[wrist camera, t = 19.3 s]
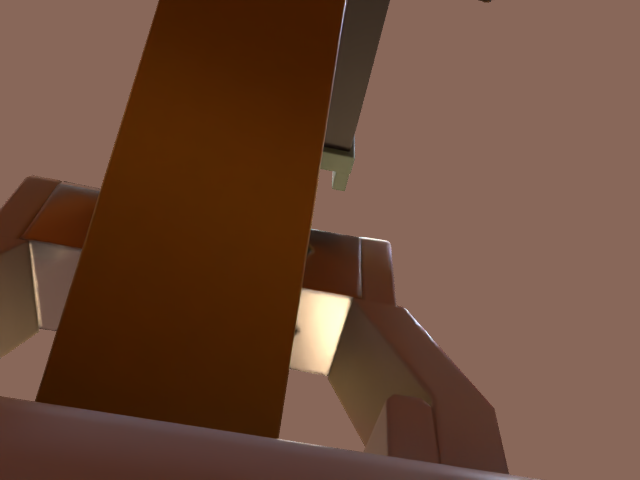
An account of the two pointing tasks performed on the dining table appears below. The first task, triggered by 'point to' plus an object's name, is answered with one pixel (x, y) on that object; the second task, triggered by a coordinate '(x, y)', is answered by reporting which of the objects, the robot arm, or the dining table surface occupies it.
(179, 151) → the batten
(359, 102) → the stand
